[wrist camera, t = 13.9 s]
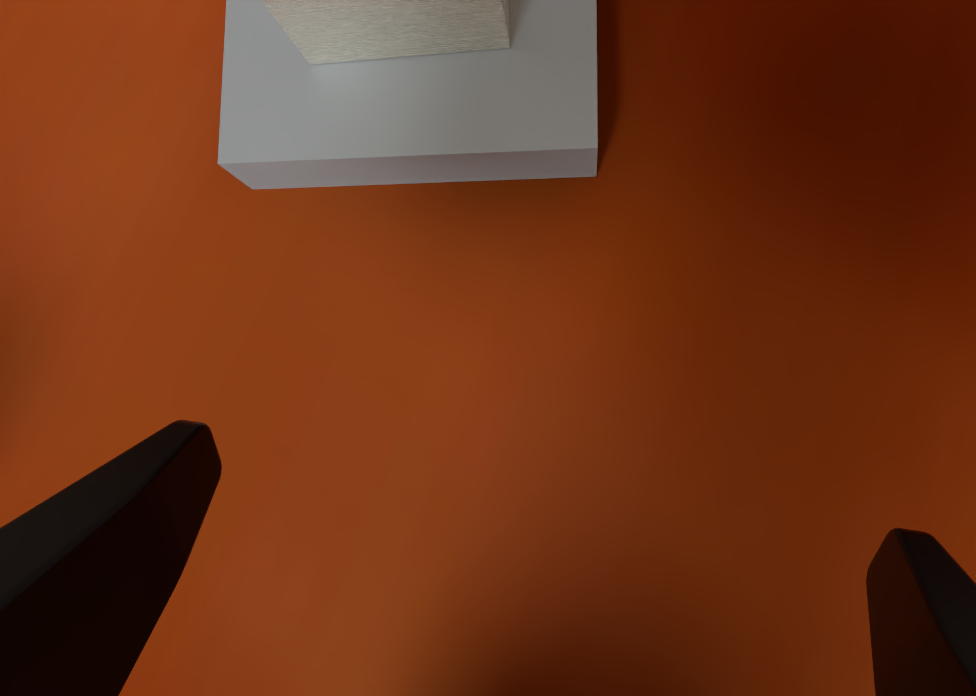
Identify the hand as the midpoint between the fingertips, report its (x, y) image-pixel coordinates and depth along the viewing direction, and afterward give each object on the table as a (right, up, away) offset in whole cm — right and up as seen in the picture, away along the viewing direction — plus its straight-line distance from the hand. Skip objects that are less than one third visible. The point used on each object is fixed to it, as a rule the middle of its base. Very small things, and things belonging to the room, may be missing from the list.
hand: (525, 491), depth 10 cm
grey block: (-3, +13, +16) cm, 21 cm away
